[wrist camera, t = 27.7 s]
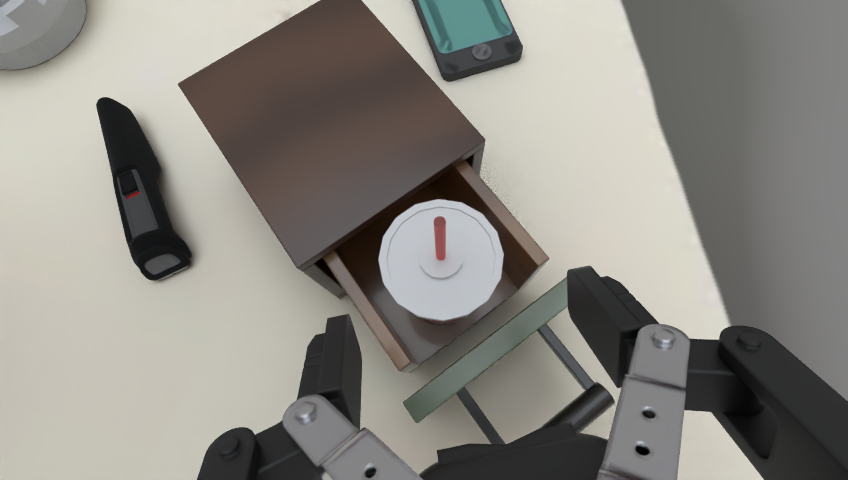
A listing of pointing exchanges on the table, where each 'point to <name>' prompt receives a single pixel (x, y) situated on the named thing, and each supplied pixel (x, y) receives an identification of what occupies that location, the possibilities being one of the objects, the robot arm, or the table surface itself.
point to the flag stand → (37, 30)
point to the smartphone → (468, 35)
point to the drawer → (421, 340)
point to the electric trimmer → (140, 194)
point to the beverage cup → (441, 260)
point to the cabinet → (329, 127)
